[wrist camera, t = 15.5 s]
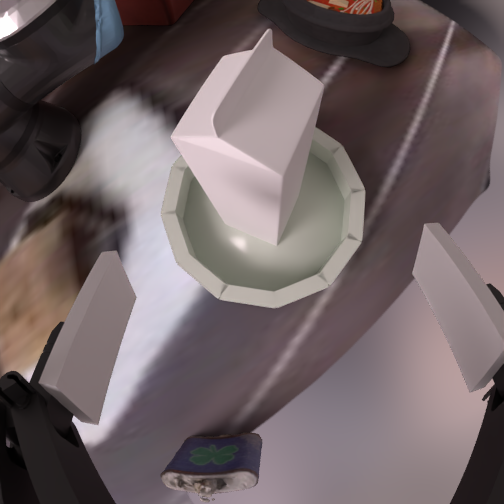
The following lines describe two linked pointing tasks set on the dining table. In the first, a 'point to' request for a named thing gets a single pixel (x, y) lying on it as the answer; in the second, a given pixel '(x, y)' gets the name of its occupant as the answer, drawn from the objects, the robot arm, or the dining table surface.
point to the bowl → (261, 252)
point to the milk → (252, 137)
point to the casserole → (342, 28)
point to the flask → (215, 464)
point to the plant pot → (151, 11)
